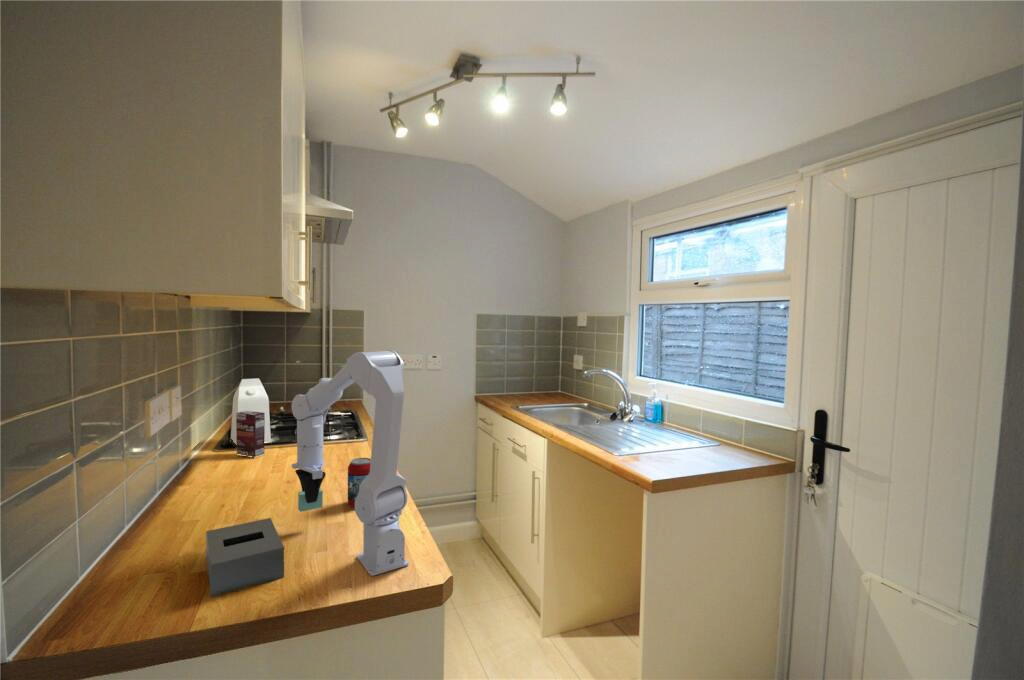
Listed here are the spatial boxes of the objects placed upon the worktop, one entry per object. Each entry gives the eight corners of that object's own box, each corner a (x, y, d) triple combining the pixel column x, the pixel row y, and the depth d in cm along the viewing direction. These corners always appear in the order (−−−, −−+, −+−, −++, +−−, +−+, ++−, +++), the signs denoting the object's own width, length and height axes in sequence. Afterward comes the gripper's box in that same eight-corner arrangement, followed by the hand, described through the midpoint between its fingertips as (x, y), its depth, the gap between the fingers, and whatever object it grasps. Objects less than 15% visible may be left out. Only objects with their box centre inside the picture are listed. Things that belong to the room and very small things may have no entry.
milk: (264, 439, 193) (263, 376, 192) (271, 445, 184) (270, 379, 183) (230, 443, 185) (230, 378, 184) (236, 450, 176) (235, 381, 175)
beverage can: (346, 509, 124) (346, 465, 123) (348, 500, 130) (348, 457, 130) (373, 507, 126) (373, 463, 125) (373, 498, 132) (374, 456, 132)
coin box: (284, 577, 91) (284, 547, 91) (211, 597, 84) (210, 564, 84) (270, 544, 104) (270, 517, 104) (206, 559, 97) (206, 531, 97)
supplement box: (235, 456, 168) (235, 412, 168) (246, 452, 173) (246, 410, 172) (254, 458, 166) (254, 414, 165) (265, 455, 171) (265, 412, 170)
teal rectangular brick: (322, 507, 112) (322, 490, 112) (300, 511, 109) (300, 495, 109) (320, 504, 114) (320, 488, 114) (298, 509, 111) (298, 492, 111)
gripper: (286, 439, 115) (286, 494, 115) (298, 453, 103) (298, 514, 103) (316, 436, 119) (316, 488, 119) (331, 449, 107) (331, 507, 108)
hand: (310, 500), depth 112 cm, fingers closed on teal rectangular brick, 2 cm apart
